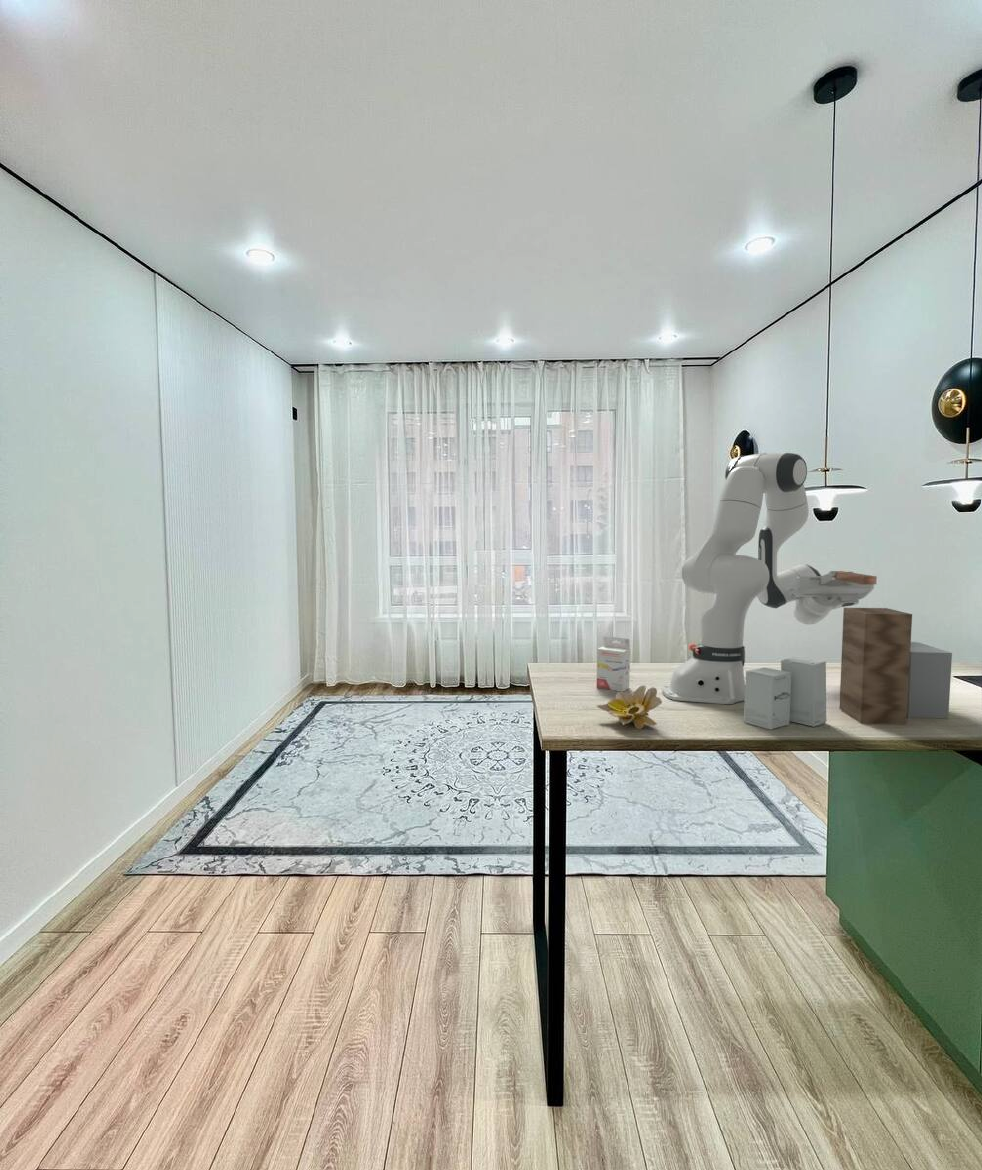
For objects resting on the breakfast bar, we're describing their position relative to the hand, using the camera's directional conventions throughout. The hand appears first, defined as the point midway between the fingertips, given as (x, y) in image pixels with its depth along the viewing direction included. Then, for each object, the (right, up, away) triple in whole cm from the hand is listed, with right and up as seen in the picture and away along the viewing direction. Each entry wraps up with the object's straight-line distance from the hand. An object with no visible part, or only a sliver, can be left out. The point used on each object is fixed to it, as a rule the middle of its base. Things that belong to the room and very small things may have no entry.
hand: (842, 574), depth 169 cm
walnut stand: (-3, -35, -17) cm, 39 cm away
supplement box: (-31, -36, -23) cm, 52 cm away
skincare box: (-21, -36, -21) cm, 47 cm away
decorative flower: (-63, -36, -21) cm, 75 cm away
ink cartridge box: (-60, -33, +12) cm, 70 cm away
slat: (-1, -2, -6) cm, 6 cm away
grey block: (+11, -34, -11) cm, 38 cm away
